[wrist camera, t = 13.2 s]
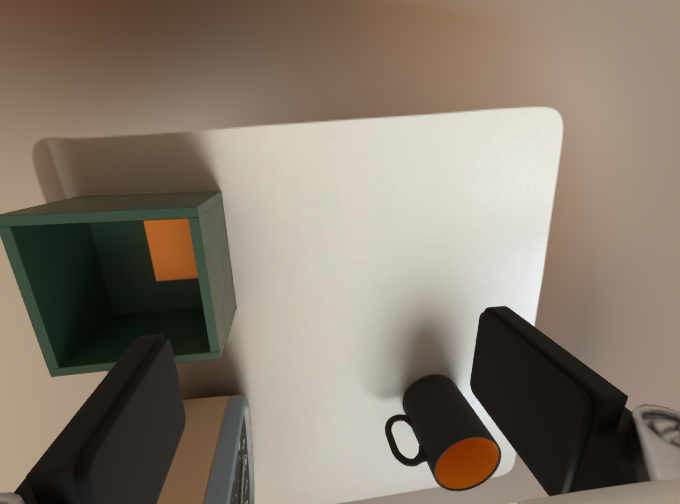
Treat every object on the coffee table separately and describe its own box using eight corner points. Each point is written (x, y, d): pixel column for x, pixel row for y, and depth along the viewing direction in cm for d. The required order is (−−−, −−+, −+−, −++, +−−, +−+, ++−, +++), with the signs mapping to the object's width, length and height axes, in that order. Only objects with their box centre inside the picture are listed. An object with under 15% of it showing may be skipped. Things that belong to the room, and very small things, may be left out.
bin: (76, 196, 32) (-8, 215, 22) (221, 191, 33) (197, 206, 24) (110, 319, 36) (50, 377, 27) (236, 308, 38) (221, 358, 29)
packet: (168, 268, 34) (156, 281, 31) (158, 212, 33) (143, 220, 29) (211, 265, 35) (203, 277, 32) (203, 210, 33) (194, 217, 30)
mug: (374, 386, 44) (399, 453, 34) (457, 369, 46) (503, 429, 36) (379, 432, 47) (403, 506, 37) (457, 414, 48) (500, 482, 38)
